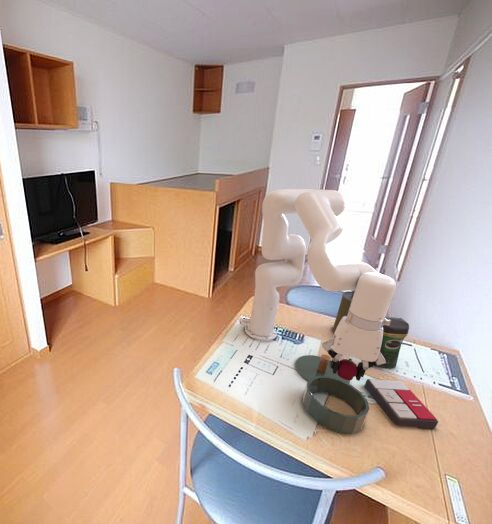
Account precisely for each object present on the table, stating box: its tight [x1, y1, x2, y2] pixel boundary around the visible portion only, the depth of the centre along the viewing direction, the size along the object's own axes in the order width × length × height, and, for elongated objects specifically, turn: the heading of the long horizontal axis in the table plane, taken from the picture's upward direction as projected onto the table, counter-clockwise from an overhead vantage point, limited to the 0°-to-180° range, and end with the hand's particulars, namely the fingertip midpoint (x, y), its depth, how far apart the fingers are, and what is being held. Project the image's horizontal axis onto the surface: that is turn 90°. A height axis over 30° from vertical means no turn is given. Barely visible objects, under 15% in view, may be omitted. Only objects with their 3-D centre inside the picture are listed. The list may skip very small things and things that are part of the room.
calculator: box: [363, 378, 439, 430], centre depth 92 cm, size 11×4×15 cm
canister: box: [331, 290, 355, 334], centre depth 125 cm, size 11×10×20 cm
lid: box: [294, 354, 351, 384], centre depth 105 cm, size 17×17×7 cm
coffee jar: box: [374, 316, 410, 369], centre depth 108 cm, size 10×8×19 cm
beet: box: [337, 357, 358, 381], centre depth 85 cm, size 5×5×6 cm
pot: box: [302, 376, 370, 435], centre depth 90 cm, size 16×16×6 cm
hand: (345, 373), depth 86 cm, fingers closed on beet, 5 cm apart
